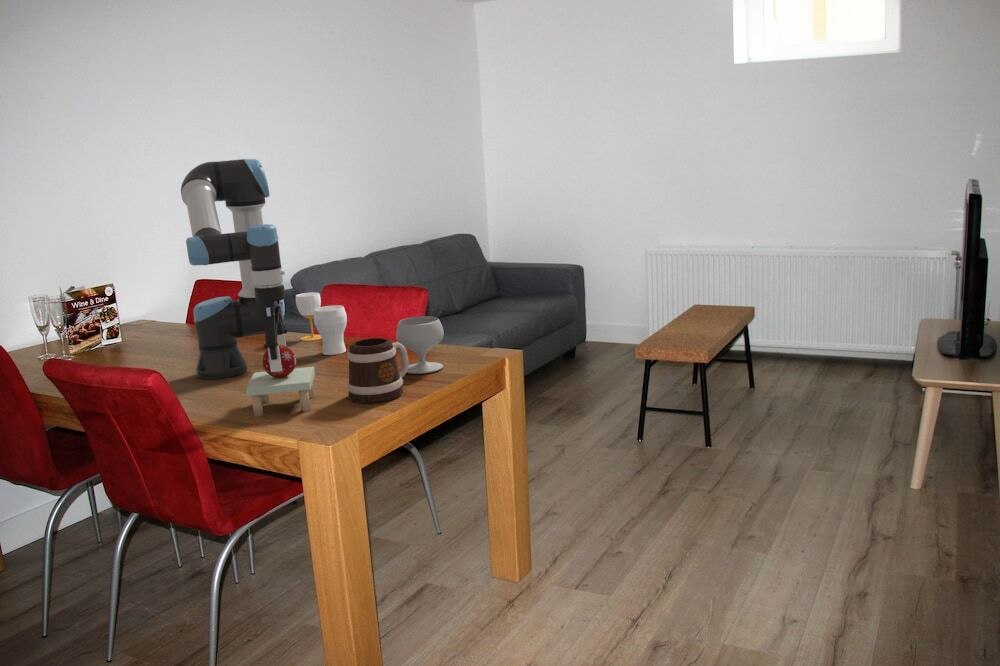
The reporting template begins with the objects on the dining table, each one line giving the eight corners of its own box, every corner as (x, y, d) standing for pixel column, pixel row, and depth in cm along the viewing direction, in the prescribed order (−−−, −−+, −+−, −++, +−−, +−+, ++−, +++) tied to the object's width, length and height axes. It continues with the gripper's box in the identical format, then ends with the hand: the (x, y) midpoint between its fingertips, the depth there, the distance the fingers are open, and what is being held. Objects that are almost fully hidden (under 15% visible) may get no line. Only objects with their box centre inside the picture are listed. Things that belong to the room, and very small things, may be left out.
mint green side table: (249, 418, 218) (245, 388, 216) (258, 400, 233) (254, 372, 231) (313, 411, 219) (309, 382, 218) (317, 394, 235) (314, 366, 233)
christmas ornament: (270, 373, 229) (265, 337, 227) (301, 371, 228) (297, 335, 226) (260, 382, 220) (255, 345, 218) (293, 380, 220) (288, 343, 218)
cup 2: (322, 340, 302) (317, 295, 299) (297, 341, 302) (291, 297, 299) (328, 334, 311) (322, 291, 307) (303, 336, 311) (298, 293, 308)
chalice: (391, 375, 249) (386, 325, 246) (413, 362, 262) (408, 315, 259) (434, 376, 244) (429, 325, 241) (454, 363, 257) (450, 315, 253)
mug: (373, 408, 219) (367, 351, 216) (336, 399, 229) (330, 345, 226) (428, 387, 234) (423, 334, 230) (391, 380, 243) (386, 329, 240)
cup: (333, 357, 275) (327, 312, 272) (311, 354, 282) (305, 310, 278) (357, 350, 283) (352, 306, 280) (335, 347, 290) (330, 304, 287)
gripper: (278, 292, 207) (289, 375, 212) (288, 276, 232) (298, 351, 236) (246, 294, 207) (258, 378, 211) (260, 279, 231) (270, 354, 235)
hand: (279, 364), depth 224 cm, fingers open, 13 cm apart
